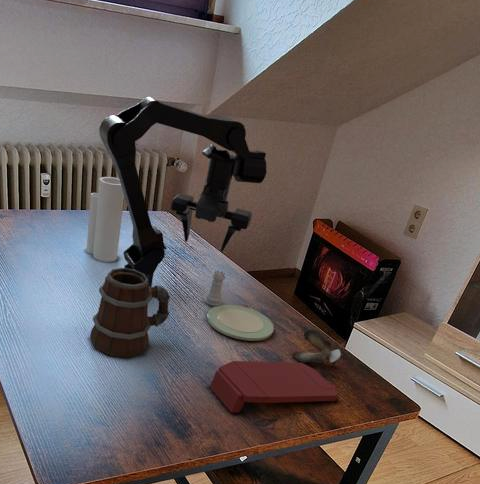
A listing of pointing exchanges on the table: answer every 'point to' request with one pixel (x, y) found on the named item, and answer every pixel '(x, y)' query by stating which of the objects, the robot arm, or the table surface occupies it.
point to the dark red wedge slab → (269, 384)
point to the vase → (105, 220)
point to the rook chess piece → (215, 290)
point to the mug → (126, 313)
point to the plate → (240, 322)
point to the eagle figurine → (321, 344)
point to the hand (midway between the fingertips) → (203, 246)
